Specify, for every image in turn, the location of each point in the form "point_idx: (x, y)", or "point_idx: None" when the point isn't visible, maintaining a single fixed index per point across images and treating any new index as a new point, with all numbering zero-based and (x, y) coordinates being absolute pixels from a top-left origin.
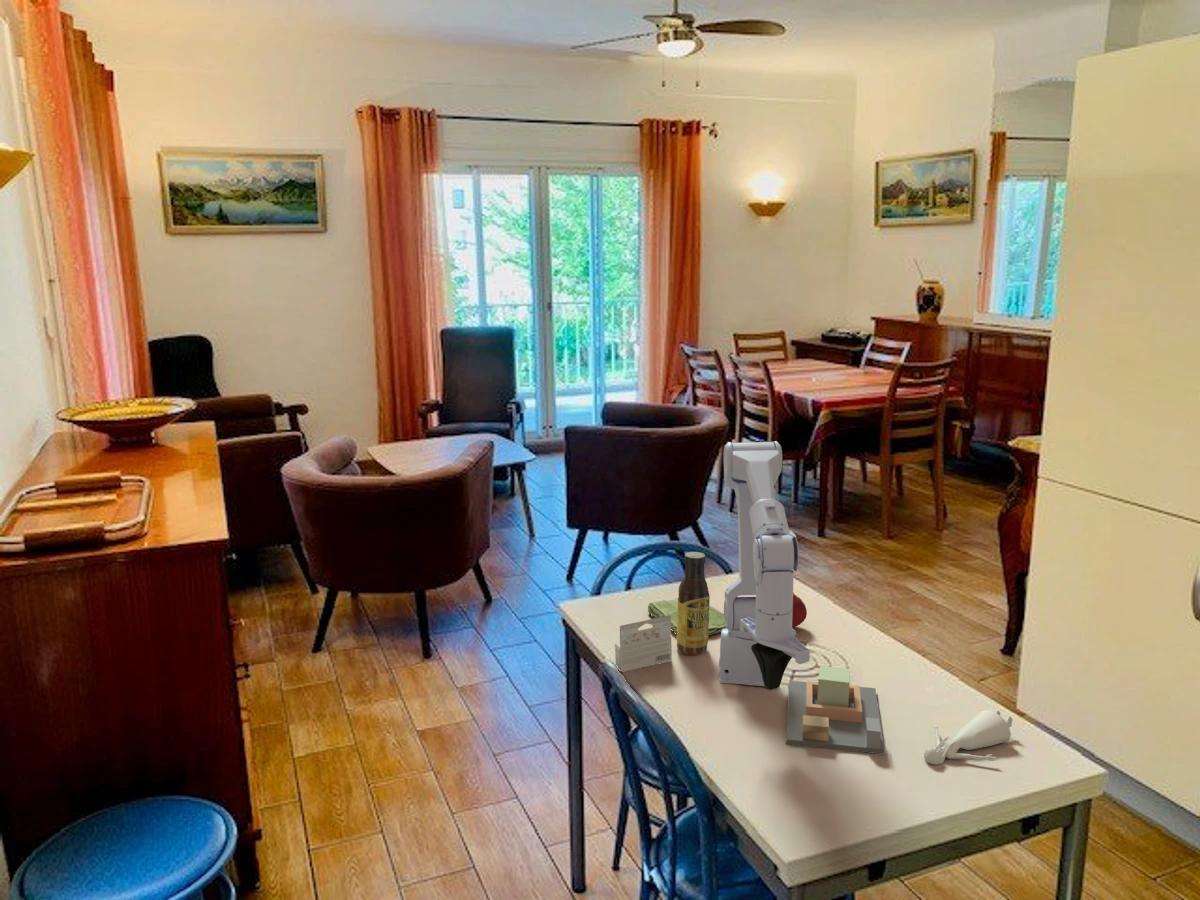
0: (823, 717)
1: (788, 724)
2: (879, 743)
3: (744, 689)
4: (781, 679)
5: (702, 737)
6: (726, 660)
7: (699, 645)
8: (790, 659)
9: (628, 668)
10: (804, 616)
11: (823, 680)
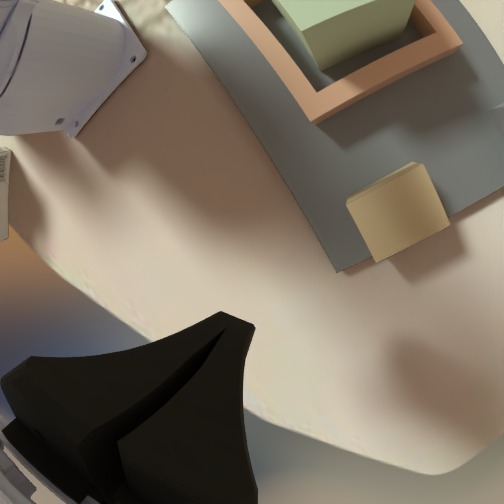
0: (409, 173)
1: (299, 198)
2: None
3: (114, 113)
4: (247, 345)
5: None
6: (37, 123)
7: None
8: (247, 451)
9: (5, 226)
10: None
11: (323, 23)
